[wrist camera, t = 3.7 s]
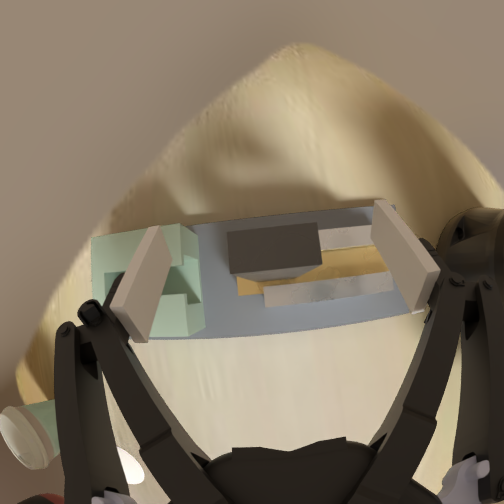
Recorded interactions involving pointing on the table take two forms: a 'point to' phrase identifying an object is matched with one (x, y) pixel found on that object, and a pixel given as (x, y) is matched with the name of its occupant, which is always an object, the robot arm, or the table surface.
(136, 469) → the wineglass
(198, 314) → the socket block
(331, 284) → the steel sleeve
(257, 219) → the base board
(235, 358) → the table surface
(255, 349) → the table surface
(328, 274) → the sliding bolt with handle
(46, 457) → the coffee cup
